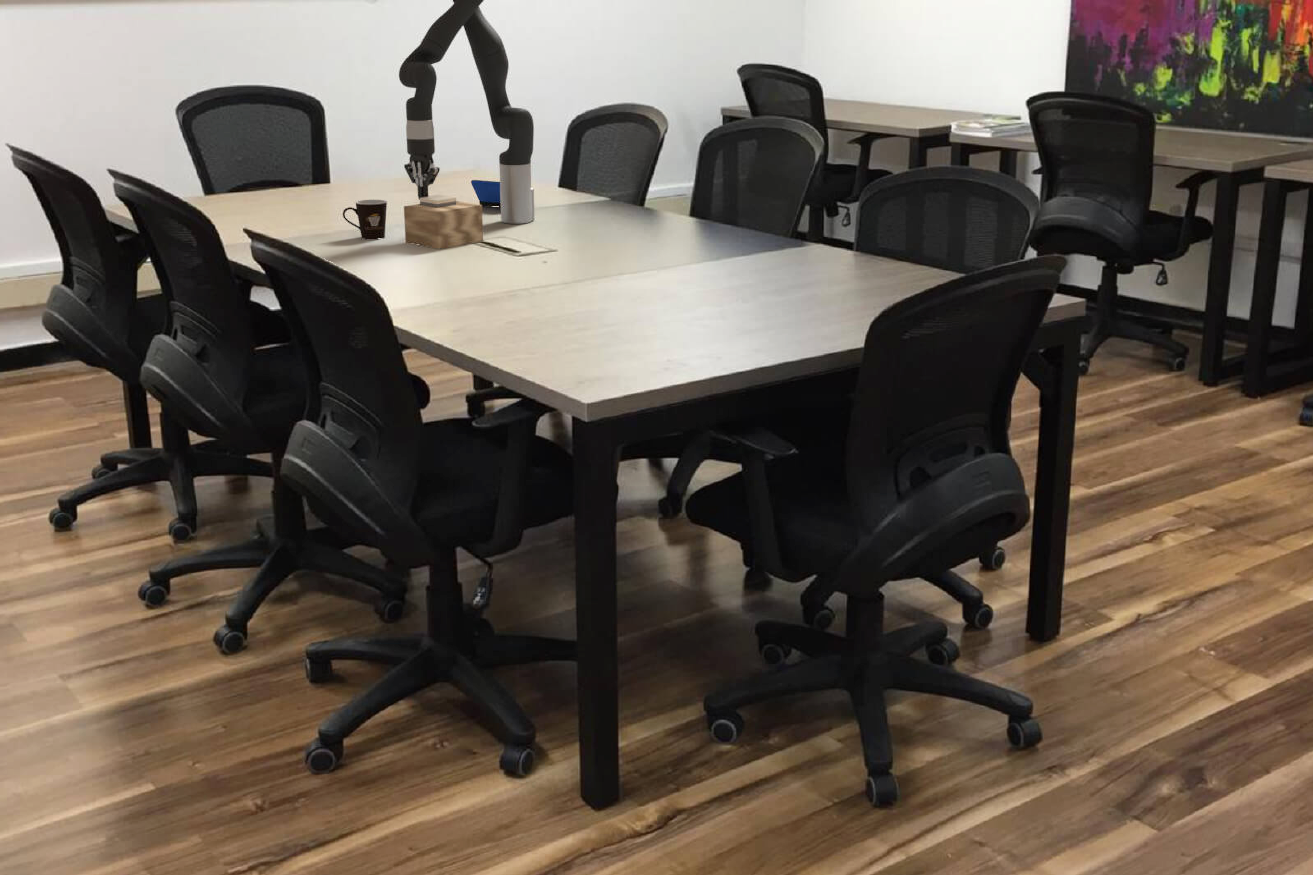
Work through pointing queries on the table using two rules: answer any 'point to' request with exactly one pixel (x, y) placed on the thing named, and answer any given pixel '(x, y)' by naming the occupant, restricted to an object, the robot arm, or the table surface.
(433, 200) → the coaster
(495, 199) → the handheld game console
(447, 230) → the oak block
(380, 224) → the coffee mug
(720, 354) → the table surface
